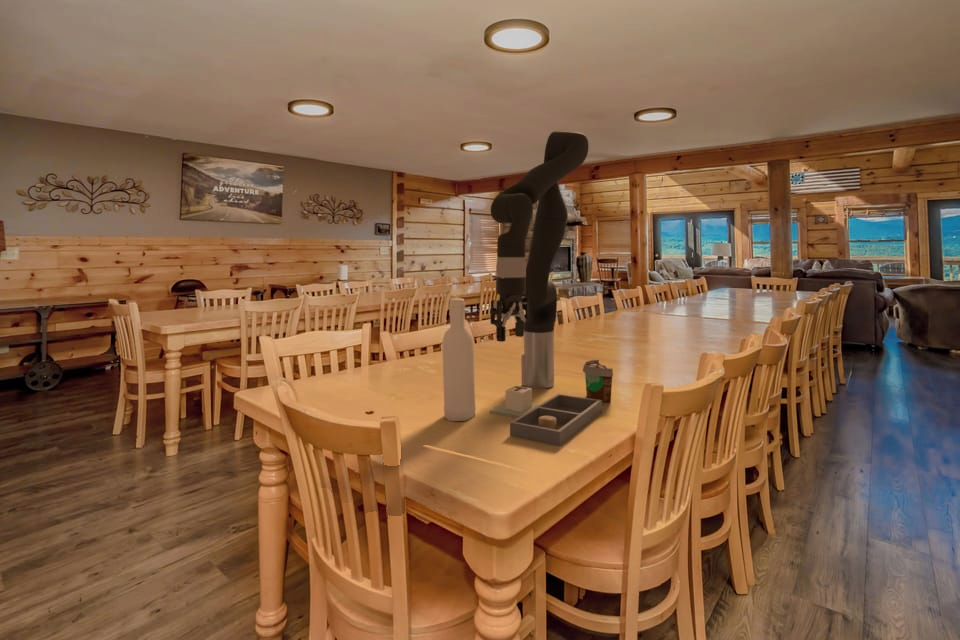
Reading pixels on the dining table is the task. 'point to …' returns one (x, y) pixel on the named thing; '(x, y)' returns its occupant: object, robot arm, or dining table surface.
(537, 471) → the dining table surface
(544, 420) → the tan oval stone
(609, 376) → the food container
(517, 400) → the letter cube
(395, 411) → the dining table surface
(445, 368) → the bottle
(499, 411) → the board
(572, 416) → the organiser tray
